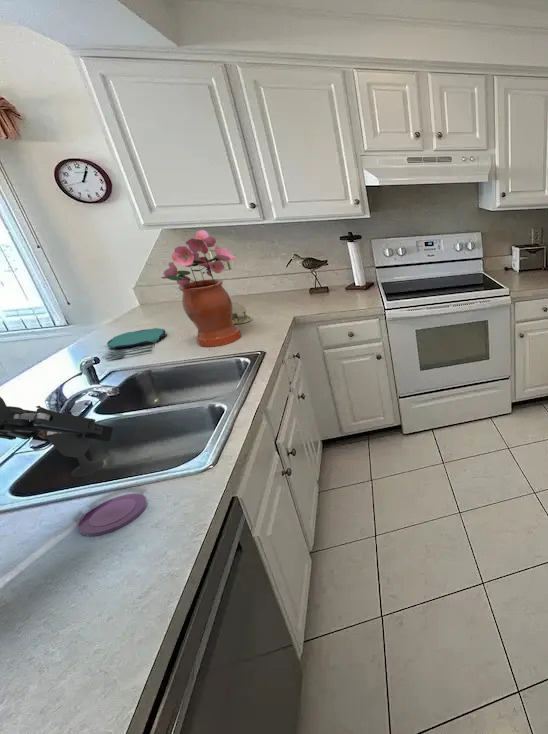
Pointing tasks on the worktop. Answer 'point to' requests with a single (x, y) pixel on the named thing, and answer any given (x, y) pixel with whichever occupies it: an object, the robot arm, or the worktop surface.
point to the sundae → (73, 450)
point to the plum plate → (112, 514)
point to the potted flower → (205, 291)
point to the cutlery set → (134, 341)
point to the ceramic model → (239, 314)
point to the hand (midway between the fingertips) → (89, 436)
